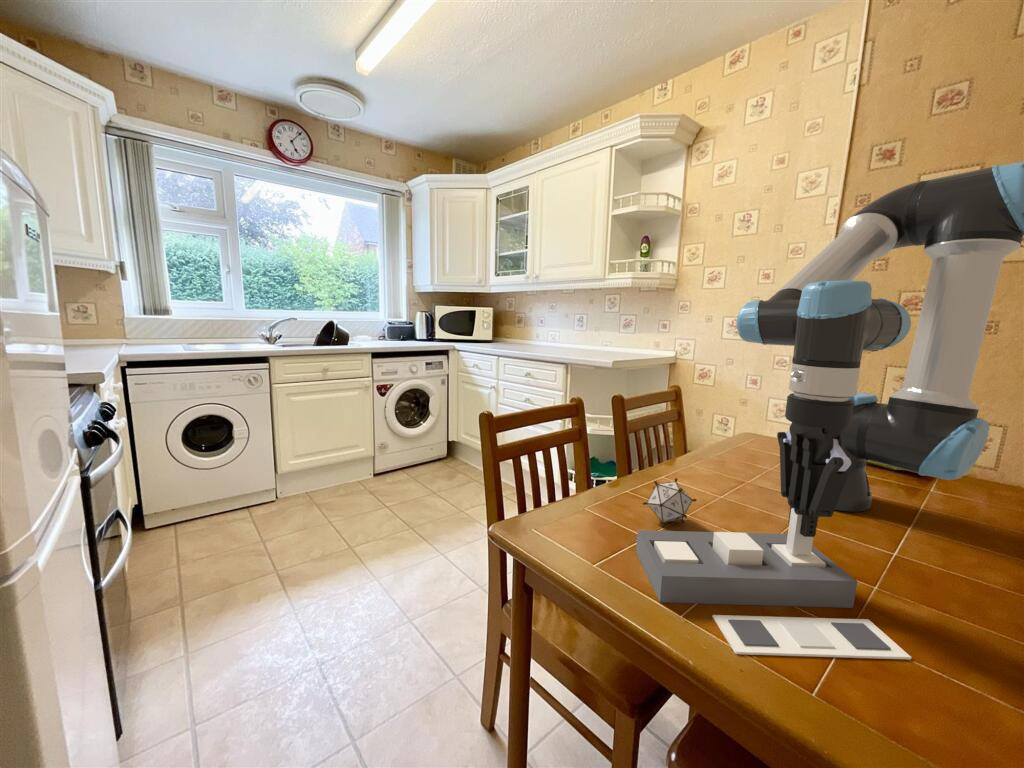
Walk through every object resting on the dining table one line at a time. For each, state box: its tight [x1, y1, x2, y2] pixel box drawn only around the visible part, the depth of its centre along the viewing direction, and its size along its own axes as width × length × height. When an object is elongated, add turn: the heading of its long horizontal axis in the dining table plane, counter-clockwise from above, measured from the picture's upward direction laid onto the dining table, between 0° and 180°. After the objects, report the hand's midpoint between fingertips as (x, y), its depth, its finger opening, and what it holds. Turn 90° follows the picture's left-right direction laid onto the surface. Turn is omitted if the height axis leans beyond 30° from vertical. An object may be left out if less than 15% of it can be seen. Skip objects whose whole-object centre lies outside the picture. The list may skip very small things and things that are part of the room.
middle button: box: [712, 531, 764, 566], centre depth 62 cm, size 5×5×3 cm
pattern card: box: [711, 614, 912, 660], centre depth 51 cm, size 20×6×1 cm, turn 89°
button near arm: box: [771, 544, 826, 567], centre depth 62 cm, size 5×5×3 cm
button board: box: [635, 529, 858, 609], centre depth 62 cm, size 26×12×4 cm, turn 89°
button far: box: [654, 541, 699, 564], centre depth 62 cm, size 5×5×3 cm
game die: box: [642, 477, 698, 528], centre depth 78 cm, size 9×8×10 cm
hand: (798, 551), depth 61 cm, fingers closed
